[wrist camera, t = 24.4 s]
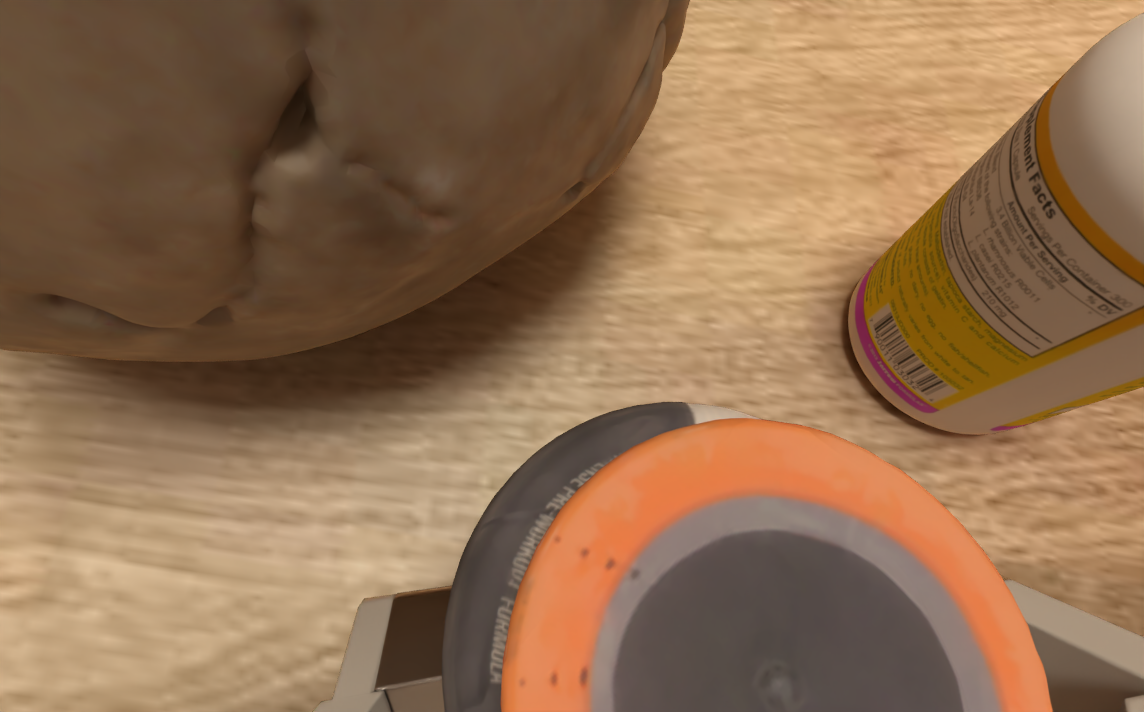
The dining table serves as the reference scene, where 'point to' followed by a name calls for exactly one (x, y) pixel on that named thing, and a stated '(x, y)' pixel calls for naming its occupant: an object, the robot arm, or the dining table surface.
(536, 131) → the pot
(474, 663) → the pill bottle
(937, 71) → the dining table surface
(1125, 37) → the supplement bottle
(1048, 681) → the robot arm
